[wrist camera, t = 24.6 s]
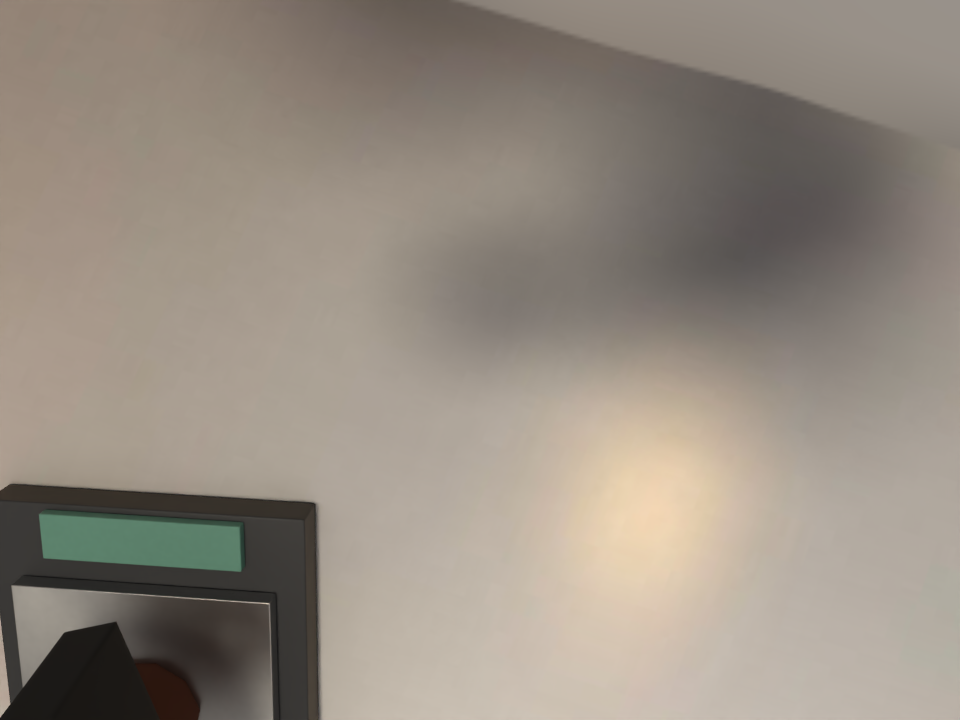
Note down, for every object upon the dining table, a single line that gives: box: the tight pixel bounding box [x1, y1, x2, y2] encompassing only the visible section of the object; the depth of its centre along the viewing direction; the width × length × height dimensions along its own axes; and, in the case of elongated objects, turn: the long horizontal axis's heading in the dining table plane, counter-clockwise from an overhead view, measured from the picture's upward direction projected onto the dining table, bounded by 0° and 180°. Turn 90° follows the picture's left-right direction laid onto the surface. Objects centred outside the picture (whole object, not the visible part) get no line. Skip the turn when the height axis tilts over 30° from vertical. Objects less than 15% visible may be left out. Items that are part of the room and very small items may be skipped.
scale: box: [0, 485, 318, 720], centre depth 46 cm, size 18×16×3 cm
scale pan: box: [11, 576, 279, 720], centre depth 46 cm, size 13×13×1 cm
